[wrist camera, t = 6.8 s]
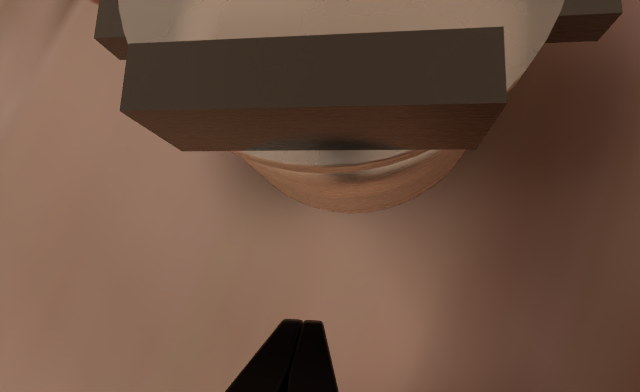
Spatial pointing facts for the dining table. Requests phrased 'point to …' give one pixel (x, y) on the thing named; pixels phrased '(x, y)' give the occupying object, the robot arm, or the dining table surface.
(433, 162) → the cooker pot
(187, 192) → the dining table surface
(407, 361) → the dining table surface
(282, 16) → the cooker lid
